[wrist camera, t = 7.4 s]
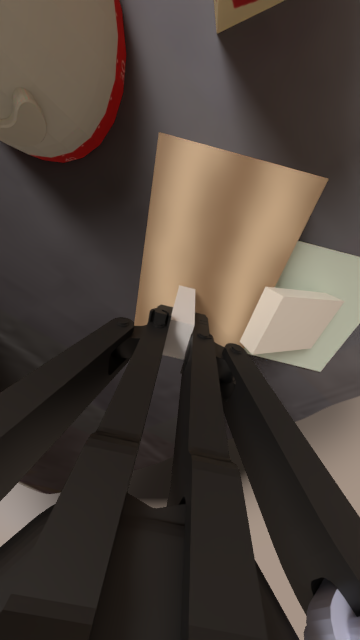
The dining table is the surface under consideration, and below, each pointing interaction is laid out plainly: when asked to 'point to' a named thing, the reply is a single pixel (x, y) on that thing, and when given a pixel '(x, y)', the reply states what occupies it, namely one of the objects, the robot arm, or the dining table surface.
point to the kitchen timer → (60, 75)
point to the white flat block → (288, 320)
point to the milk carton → (238, 11)
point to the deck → (220, 231)
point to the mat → (328, 277)
